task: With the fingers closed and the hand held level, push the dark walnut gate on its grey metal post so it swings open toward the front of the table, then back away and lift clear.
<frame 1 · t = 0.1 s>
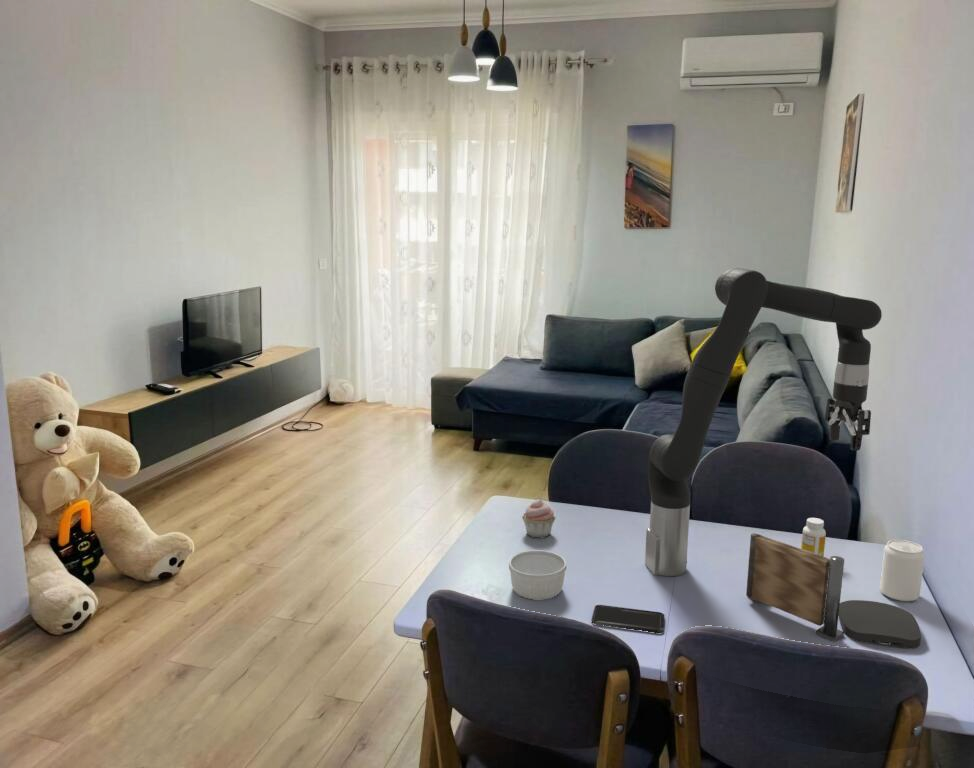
hand: (844, 444, 193), 29 cm above the table, tool pointing down, fingers open, 8 cm apart
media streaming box: (877, 630, 165), on the table
gate post: (829, 634, 162), on the table
phone: (627, 622, 168), on the table
supplement bottle: (811, 557, 198), on the table
wooden gate: (785, 578, 168), point 9 cm above the table, hinge at 0.0°
cupcake: (538, 534, 212), on the table
beverage can: (898, 595, 179), on the table
ramekin: (536, 590, 181), on the table
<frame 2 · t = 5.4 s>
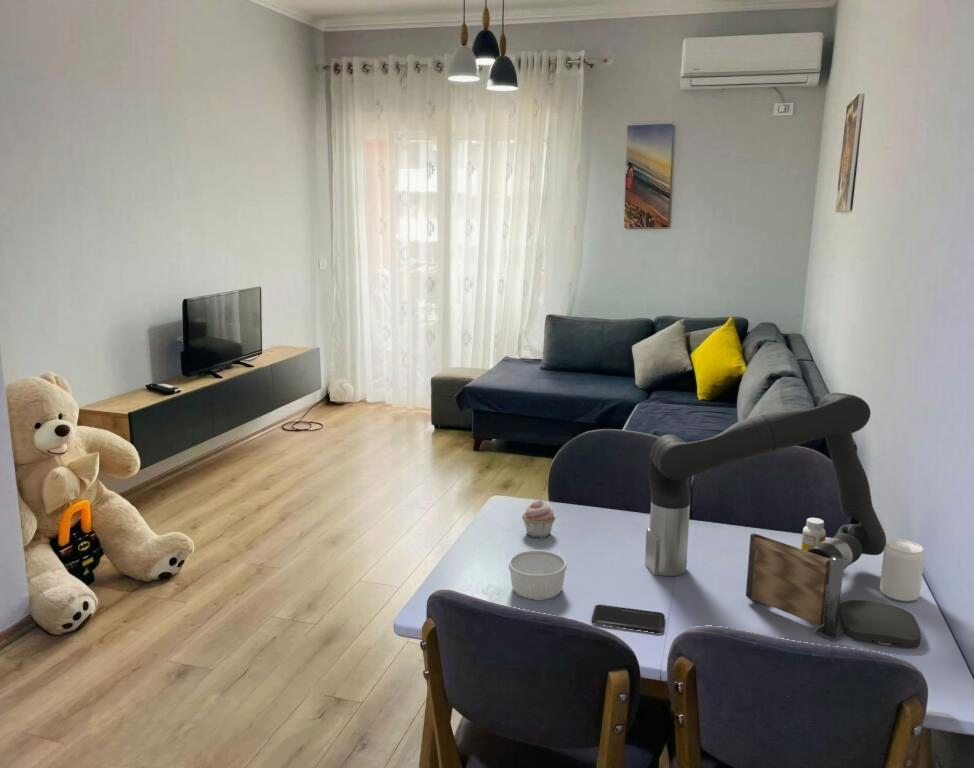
hand: (789, 581, 168), 8 cm above the table, tool horizontal, fingers closed
wooden gate: (785, 578, 168), point 9 cm above the table, hinge at 0.6°, touching gripper
everything else where it was.
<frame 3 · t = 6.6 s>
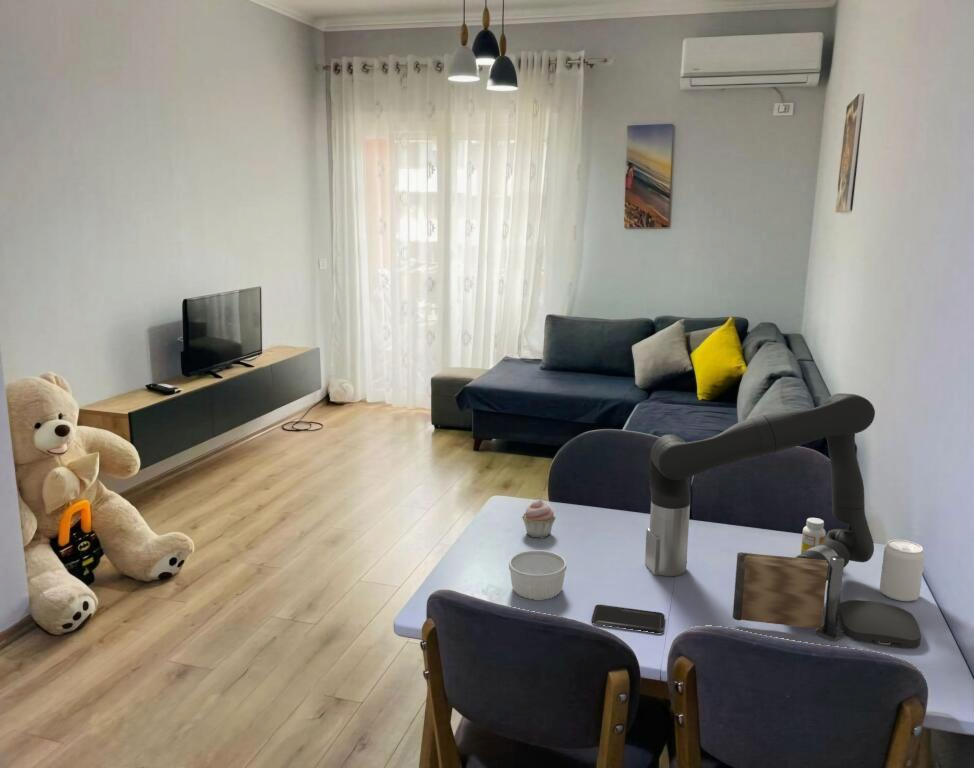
hand: (775, 591, 164), 8 cm above the table, tool horizontal, fingers closed
wooden gate: (778, 590, 162), point 9 cm above the table, hinge at 36.7°, touching gripper
everything else where it was.
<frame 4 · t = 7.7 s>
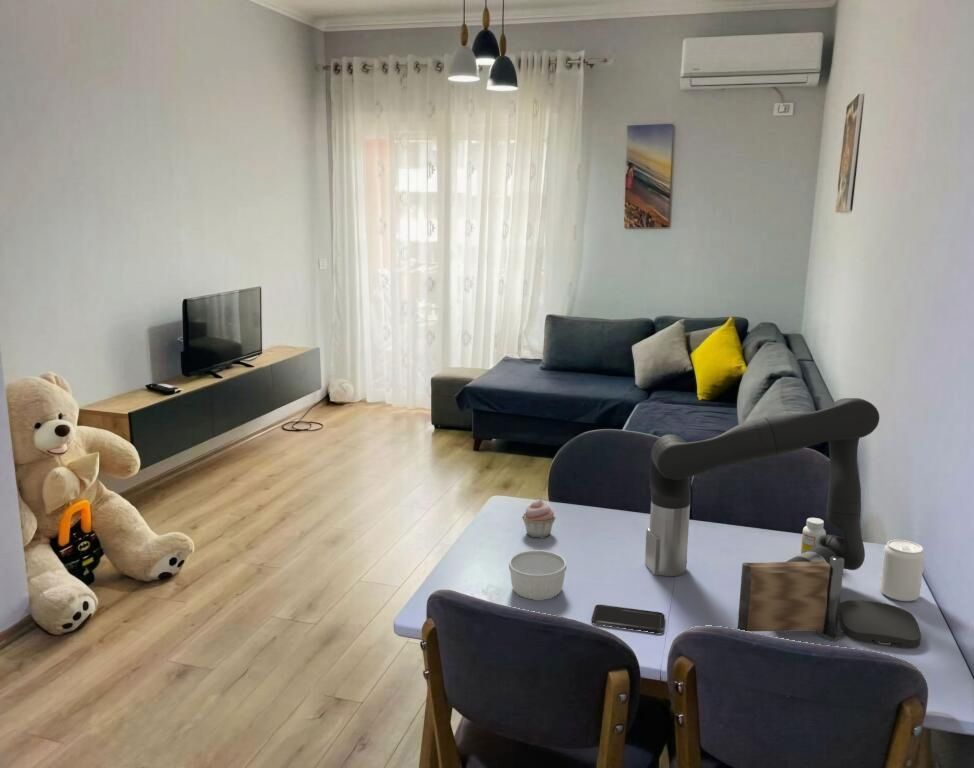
hand: (760, 597, 161), 8 cm above the table, tool horizontal, fingers closed
wooden gate: (782, 596, 159), point 9 cm above the table, hinge at 51.8°
everything else where it was.
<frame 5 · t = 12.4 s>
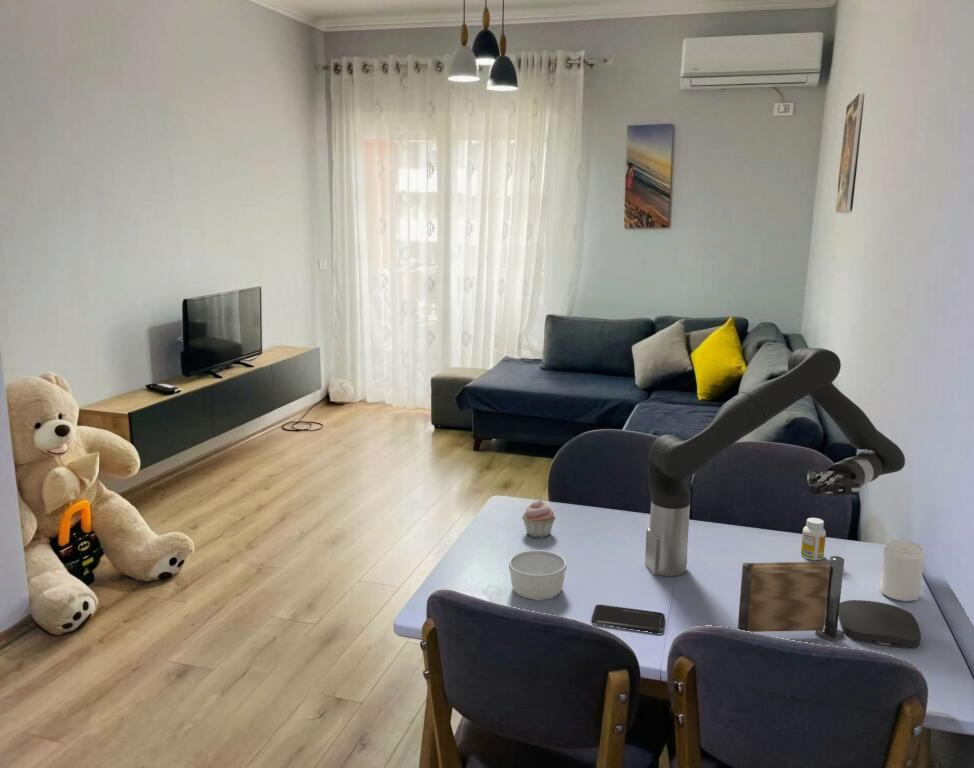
hand: (813, 490, 176), 24 cm above the table, tool horizontal, fingers closed
wooden gate: (782, 597, 159), point 9 cm above the table, hinge at 52.3°
everything else where it was.
at the end: wooden gate at +52° (first picture: +0°) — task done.
